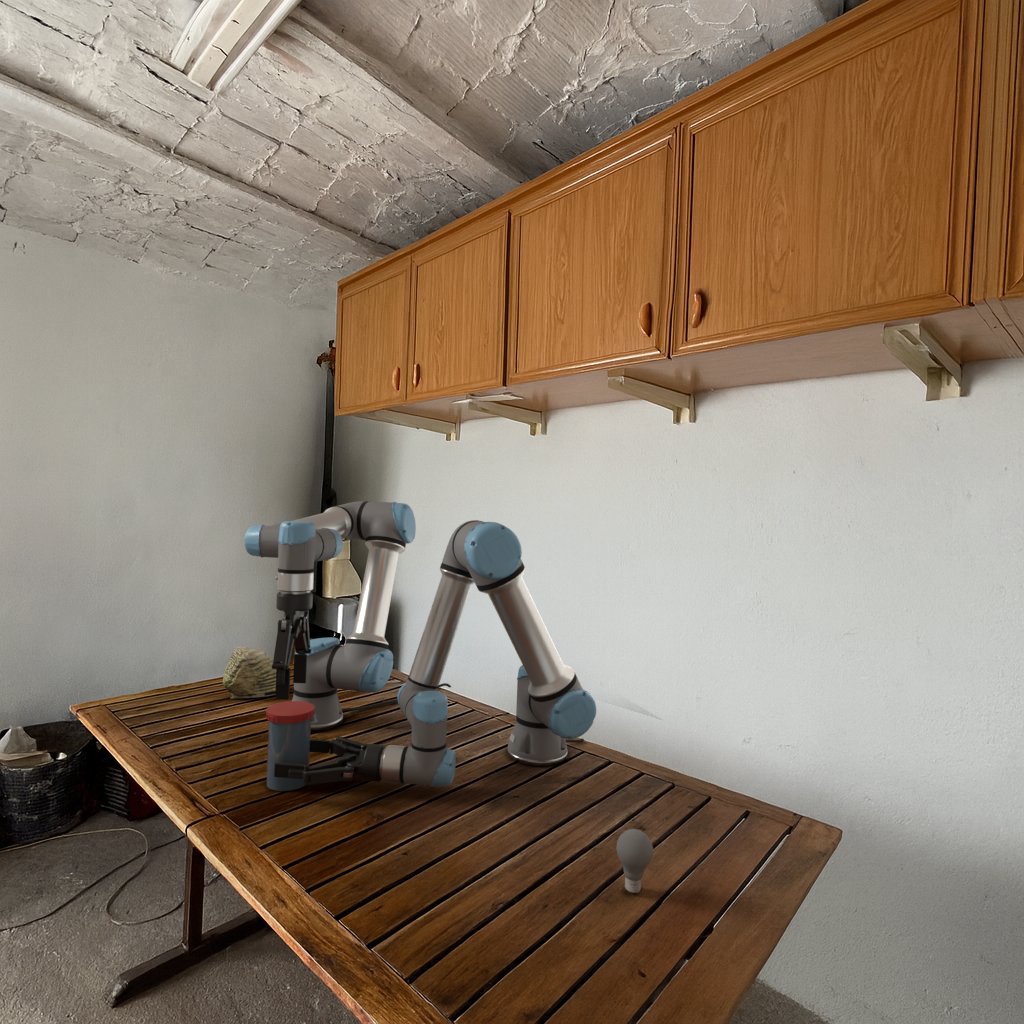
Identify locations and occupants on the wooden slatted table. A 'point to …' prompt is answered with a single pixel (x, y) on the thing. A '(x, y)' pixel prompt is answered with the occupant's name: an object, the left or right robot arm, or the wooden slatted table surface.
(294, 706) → the lid
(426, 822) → the wooden slatted table surface
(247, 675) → the fossil
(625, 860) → the light bulb
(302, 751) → the jar
